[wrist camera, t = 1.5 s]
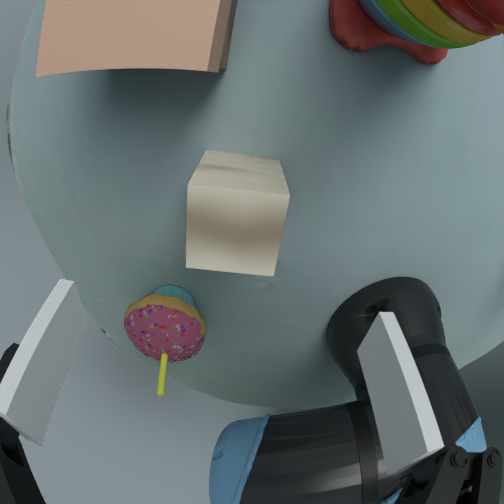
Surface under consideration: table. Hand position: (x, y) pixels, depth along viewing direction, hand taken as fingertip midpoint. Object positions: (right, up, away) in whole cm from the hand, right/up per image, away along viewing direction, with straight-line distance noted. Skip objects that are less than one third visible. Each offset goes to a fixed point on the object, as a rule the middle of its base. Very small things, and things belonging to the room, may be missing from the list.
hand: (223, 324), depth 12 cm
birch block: (0, +8, +13) cm, 16 cm away
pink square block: (-5, +19, +1) cm, 19 cm away
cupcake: (-8, -2, +21) cm, 22 cm away
